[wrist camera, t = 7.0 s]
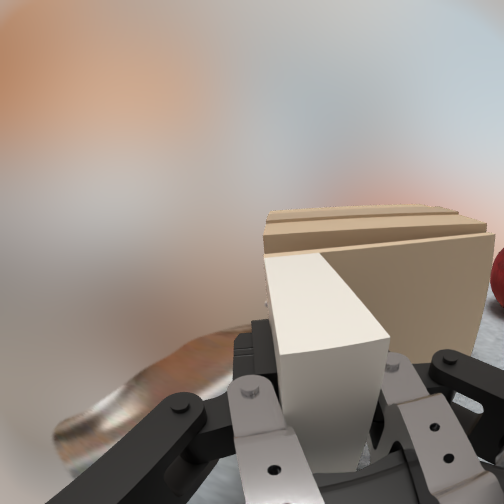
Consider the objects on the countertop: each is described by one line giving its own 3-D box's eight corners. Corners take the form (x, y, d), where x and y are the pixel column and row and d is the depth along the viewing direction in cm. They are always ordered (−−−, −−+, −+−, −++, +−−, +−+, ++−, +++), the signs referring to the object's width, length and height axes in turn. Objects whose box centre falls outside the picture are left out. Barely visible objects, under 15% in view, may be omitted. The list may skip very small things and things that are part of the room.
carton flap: (464, 355, 15) (489, 232, 12) (522, 417, 7) (581, 268, 5) (275, 400, 15) (263, 254, 13) (286, 512, 8) (279, 354, 5)
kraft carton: (414, 304, 25) (420, 201, 22) (461, 359, 15) (486, 220, 13) (278, 317, 26) (269, 208, 24) (275, 387, 17) (262, 231, 14)
